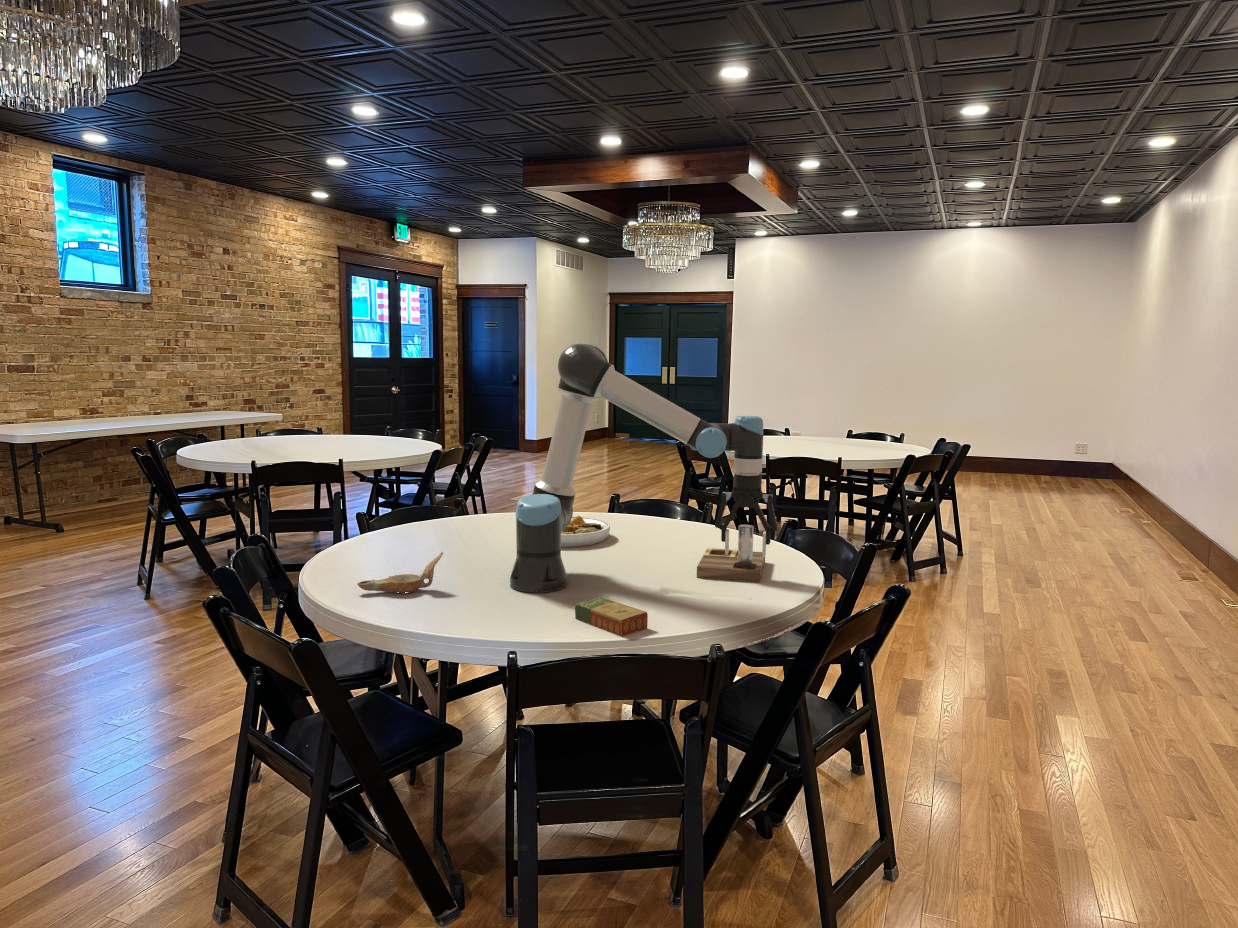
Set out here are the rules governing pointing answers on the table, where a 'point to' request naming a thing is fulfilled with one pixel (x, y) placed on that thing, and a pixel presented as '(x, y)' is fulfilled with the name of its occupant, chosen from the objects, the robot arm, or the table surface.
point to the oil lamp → (402, 580)
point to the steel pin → (745, 546)
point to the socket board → (729, 566)
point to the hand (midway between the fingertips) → (745, 554)
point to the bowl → (584, 532)
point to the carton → (611, 616)
